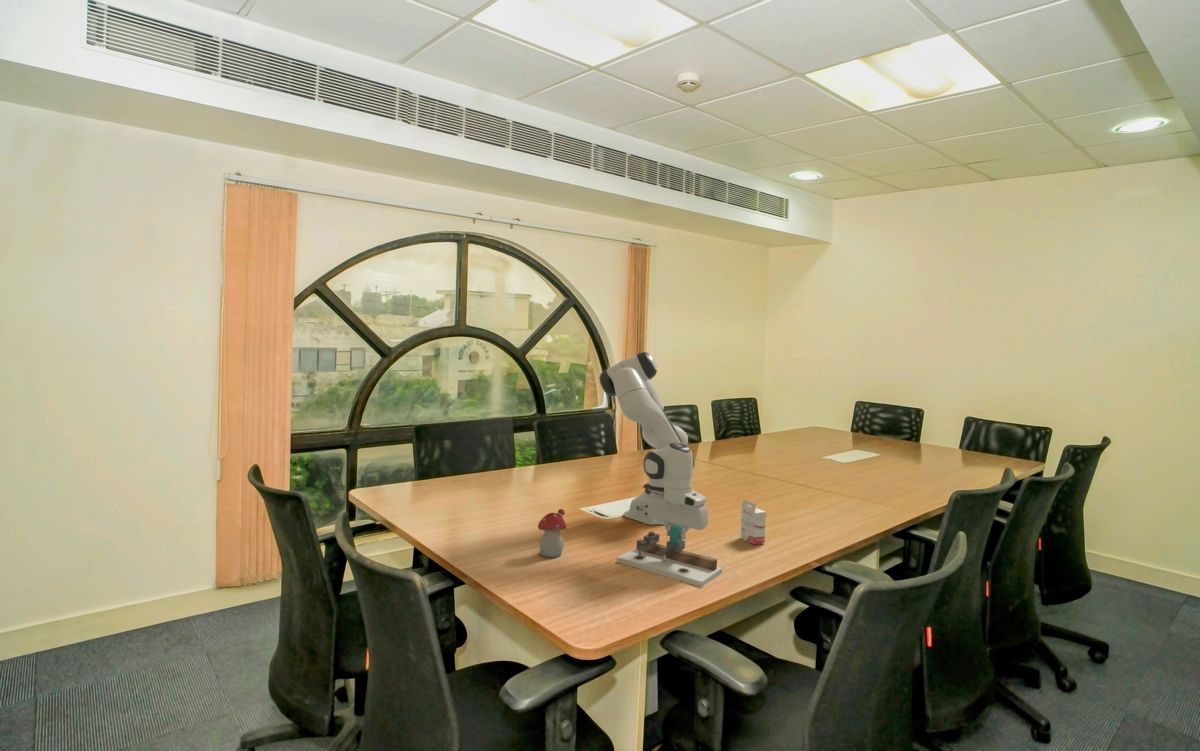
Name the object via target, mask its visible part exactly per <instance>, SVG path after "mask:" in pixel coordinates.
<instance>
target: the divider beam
mask: <svg viewBox="0 0 1200 751" xmlns="http://www.w3.org/2000/svg"><path fill="white" fill-rule="evenodd" d="M658 542H660V534H658V533H655V531H652V530H651V531H648V534H645V535H643V539H638V540H636V547H635V548H636V550H639V554H638V555H641V551H644V552H647V553H651V554H654V555H658V556H662V557H663V555H662V551H663V550H665V549H666V545H664V544H659V543H658ZM666 558H669V559H673V560H676V561H680V562H683V563H687V564H691V565H694V566H698V567H702V568H705V569H709V570H713V571H714V570H716V569H717V567H718V559H716V558H713V557H710V556H705V555H701V554H698V553H695V552H690V551H686V550H684V549H683V550H681V551H679V552H674V551H673V552H671V553H669V554H667V555H666Z"/></svg>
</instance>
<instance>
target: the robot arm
mask: <svg viewBox="0 0 1200 751" xmlns="http://www.w3.org/2000/svg"><path fill="white" fill-rule="evenodd" d="M657 369H658V366H657V363H656V360H655V359H654V357H653V356H652V355H651V354H650V353H648V352H646V351H642V352H638V353H636V354H635V355H632V356H629V357H627V358H624V359H623V360H621V361H619V362H617V363H616V364H614V365H612V366H610V367H609V368H608V369H607V368H606V369H605V370H604V371H602V372H601V373H600V375H599V378H598V379H599V386H600V387H601V389H602V390H603V391H602V392H604V393H605V395H607V396H609V397H616V400H617V402H618V404H619V407H620V410H621V412H622V413H623V415H624V417H626V418H627V419H629V421H632V422H635V423H638V424H640V426H641V430H642V431H641V433H642V434H641V435H642V438H643V440H644V441H645V442H646V443H647V444H648V445H649V446H651V447H653V448H655V450H651V451H648V452H647V453H646V454H645V456H644V459H643V463H642V464H643V470H644V474H646V476H647V477H648V482H647V483H645V484H643V485H642V489H644V491H643V492H642V493H640V494H639V495H637V496H636V497H634V498H633V499H632V500H631V502H630V505H629V509H626V510H625V511H624V512H623V517H625V518H628V519H632V520H635V521H636V522H641V523H642V524H646V525H650V526H653V525H654V526H655V525H663V526H664V528H665V530H666V536H667V537H670V526H671V525H674V524H676V525H680V526H682V529H683V532H681V533H679V539H682V540H683V541H685V539H686V534H687V533H688V531H689V530H690V529H693V530H697V531H703V530H704V529H706V528H707V527H708V524H709V516H708V515H709V514H708V508H707V506H706V505H705V504H706V503H707V497H706V496H704V495H703V494H701V493H700V492H697V491H696V490H694V489H693V482H692V477H693V472H694V467H695V456H694V455H693V452H692V449H691V447H690V446H689V445H688V443H689V436H688V434H687V432H685V430H684V429H682V427H680V426H678V425H676V424H673V423H672V421H671V419H670V418H669V416H668V415H667V412H665V411H664V407H665V404H664V403H663V401H662V399H661V397H660V395H659V393H658V391H657V390H656V388H655V386H654V384H653V383H652V381H651V380H652V379H654V377H656V376H657V373H658V370H657Z"/></svg>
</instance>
